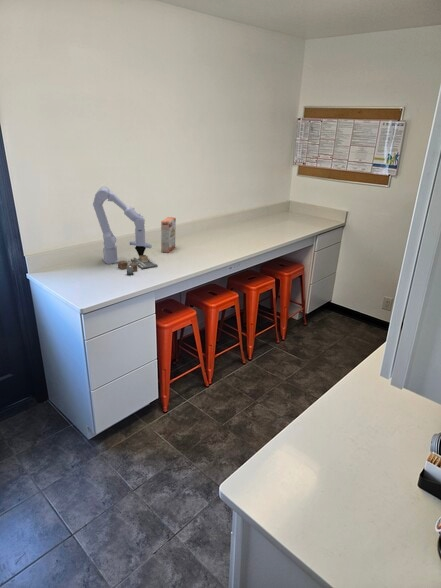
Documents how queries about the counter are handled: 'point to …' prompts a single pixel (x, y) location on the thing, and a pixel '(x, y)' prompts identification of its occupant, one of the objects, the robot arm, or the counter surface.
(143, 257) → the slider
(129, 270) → the metal peg
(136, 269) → the walnut block
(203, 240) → the counter surface
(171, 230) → the cracker box
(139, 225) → the robot arm
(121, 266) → the walnut block
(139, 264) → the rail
